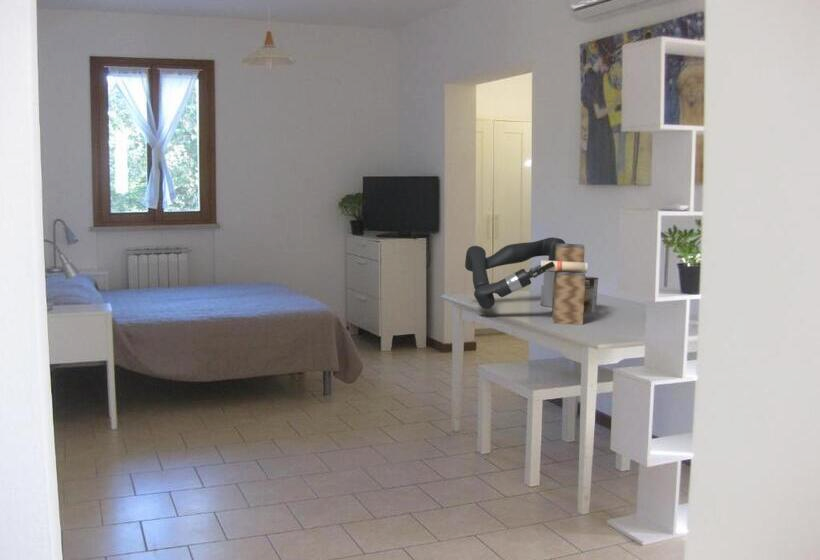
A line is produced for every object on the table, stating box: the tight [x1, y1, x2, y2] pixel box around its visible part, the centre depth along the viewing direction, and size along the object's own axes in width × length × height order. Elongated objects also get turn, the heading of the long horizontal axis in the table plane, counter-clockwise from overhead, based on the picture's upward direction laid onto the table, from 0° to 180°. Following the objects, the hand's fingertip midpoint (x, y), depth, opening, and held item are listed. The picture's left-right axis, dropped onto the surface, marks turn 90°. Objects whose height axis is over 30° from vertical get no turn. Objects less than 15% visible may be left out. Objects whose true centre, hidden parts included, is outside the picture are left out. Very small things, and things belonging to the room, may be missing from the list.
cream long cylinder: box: [539, 259, 589, 274], centre depth 384 cm, size 20×4×4 cm, turn 84°
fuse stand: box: [551, 243, 586, 326], centre depth 389 cm, size 12×20×33 cm, turn 174°
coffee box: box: [583, 275, 599, 313], centre depth 419 cm, size 9×6×16 cm
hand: (553, 262), depth 384 cm, fingers closed on cream long cylinder, 4 cm apart
